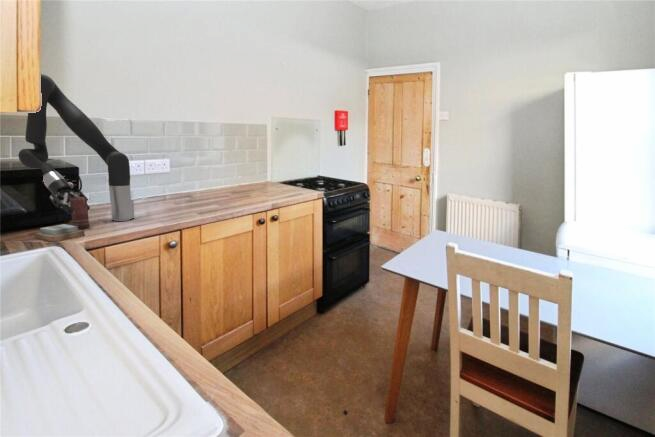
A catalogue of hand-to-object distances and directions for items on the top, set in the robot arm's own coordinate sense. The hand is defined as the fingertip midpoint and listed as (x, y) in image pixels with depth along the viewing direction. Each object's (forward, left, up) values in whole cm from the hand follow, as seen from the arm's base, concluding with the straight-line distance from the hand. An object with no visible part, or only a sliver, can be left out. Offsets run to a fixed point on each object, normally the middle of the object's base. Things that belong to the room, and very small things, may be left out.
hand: (79, 211), depth 165 cm
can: (0, 0, -8) cm, 8 cm away
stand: (+14, +9, -8) cm, 18 cm away
